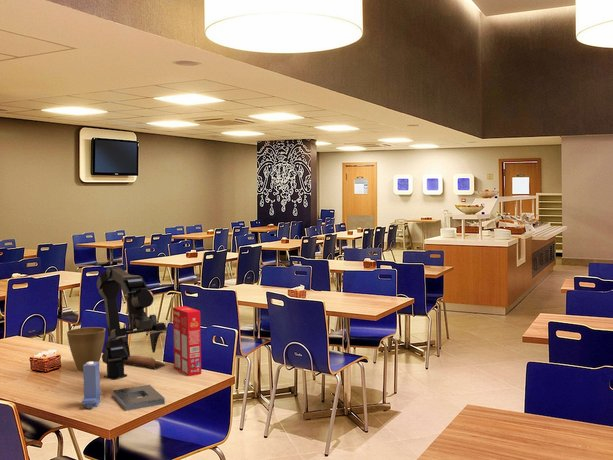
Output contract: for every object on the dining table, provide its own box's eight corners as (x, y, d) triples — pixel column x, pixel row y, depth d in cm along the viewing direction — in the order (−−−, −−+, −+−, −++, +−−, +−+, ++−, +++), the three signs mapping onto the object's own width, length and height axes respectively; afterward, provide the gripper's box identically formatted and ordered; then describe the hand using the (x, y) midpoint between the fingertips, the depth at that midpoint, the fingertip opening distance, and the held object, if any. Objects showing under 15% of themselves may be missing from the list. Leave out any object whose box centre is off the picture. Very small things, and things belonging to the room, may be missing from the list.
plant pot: (114, 367, 263) (113, 328, 262) (84, 376, 250) (83, 335, 249) (90, 362, 271) (89, 325, 270) (60, 370, 258) (58, 331, 257)
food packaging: (201, 374, 251) (200, 311, 250) (188, 376, 249) (187, 312, 247) (186, 366, 264) (184, 305, 262) (174, 368, 261) (172, 307, 259)
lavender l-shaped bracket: (90, 400, 220) (89, 357, 220) (102, 399, 221) (101, 357, 220) (82, 409, 210) (80, 365, 210) (94, 409, 211) (93, 365, 210)
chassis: (113, 395, 225) (112, 390, 225) (149, 390, 231) (149, 384, 231) (125, 410, 209) (125, 404, 209) (164, 403, 216) (164, 398, 215)
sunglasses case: (169, 364, 266) (163, 352, 262) (159, 377, 260) (153, 365, 257) (136, 360, 274) (130, 348, 271) (126, 371, 269) (120, 360, 266)
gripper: (118, 311, 217) (123, 357, 215) (169, 305, 228) (175, 348, 226) (107, 315, 226) (112, 359, 223) (157, 309, 237) (162, 351, 235)
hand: (141, 354), depth 227 cm, fingers open, 9 cm apart
